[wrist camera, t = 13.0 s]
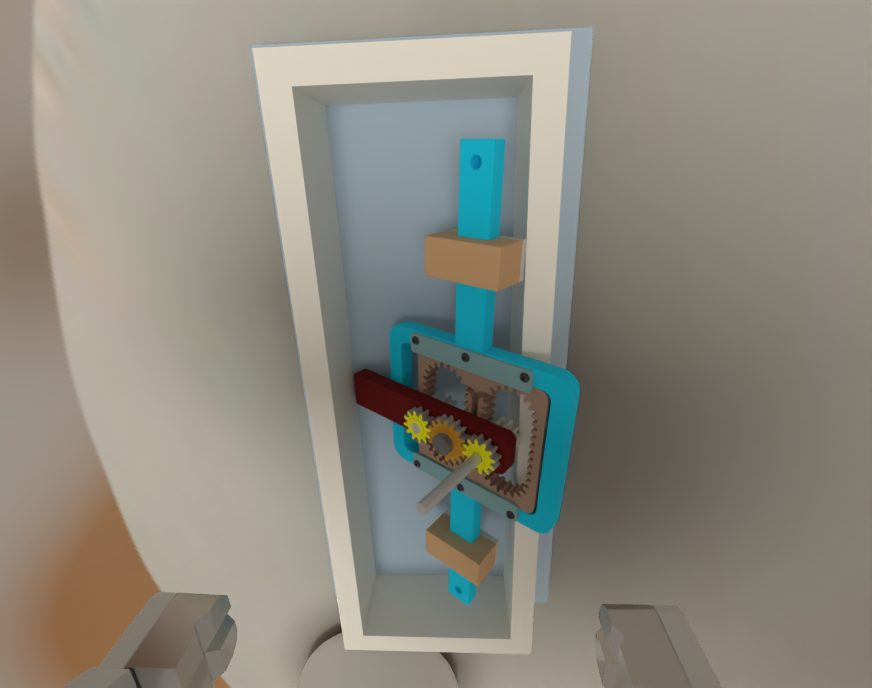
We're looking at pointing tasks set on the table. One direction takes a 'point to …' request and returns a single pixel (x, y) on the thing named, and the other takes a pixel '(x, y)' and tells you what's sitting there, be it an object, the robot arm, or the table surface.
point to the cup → (374, 668)
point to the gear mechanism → (475, 388)
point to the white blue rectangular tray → (418, 291)
